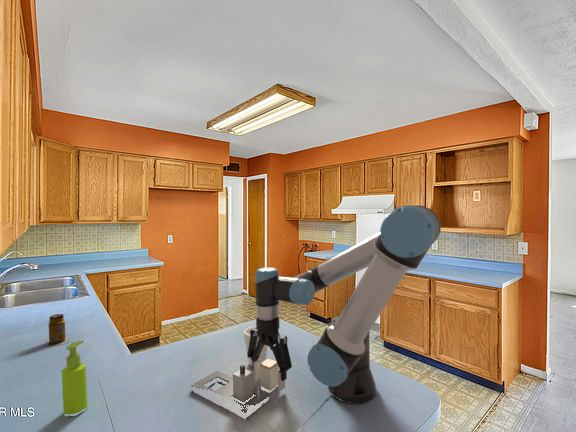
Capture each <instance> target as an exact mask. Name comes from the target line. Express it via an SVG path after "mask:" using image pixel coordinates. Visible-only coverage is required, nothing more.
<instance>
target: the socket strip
mask: <svg viewBox="0 0 576 432" xmlns="http://www.w3.org/2000/svg"><path fill="white" fill-rule="evenodd" d="M217 377H218V378H220V379H222V380H224V381H226V382H228V383H227V384H226V385H224V386H223V387H221V388H219V389H218V390H216V391H215V390H213V389H211V388H209V387H206V386H204V384H206V383H208V382H210V381H212V380H213V379H215V378H217ZM195 384H196V385H195ZM197 385H198V386H197ZM191 386H192V387H193V386H194V387H196V388H198V389H200V388H201V389H202V390H203V389H206V390H207V391H208V390H210V391H211V392H212V391H213V392H214V393H215V394H217V393H218V395H221V396H228V397H231V396H233V376H230V375H228V374H226V373H224V372H221V371H219V370H216V371H214V372H212V373H210V374H208V375H207V376H205V377H204V378H202V379H200V380H198V381H196V382H195V383H193V384H191V385H190V387H191ZM253 394H254V395H256V396H254V397H253V398H252V399H250V400H249V401H248V402H246V403H245V404H244V405H245V407H244V405H243V404H241V403H239V402H238V404H240V406H241V405H242V406H243V408H244V409H242V410H241V411H242V412H243V411H244V413H246V412H247V410H248V409H247V408H246V405H249V406H250V405H254V406H255V405H256V404H258V403H260V402H261V401H263V400H264V399H266V398H267V397H269V396H270V397H271V394H270V393H268V392H266V391H263V390H261V389H260V387H256V386H254V385H253ZM228 400H229V398H228ZM230 400H232V399H231V398H230ZM234 401H235V400H234ZM236 403H237V401H236ZM247 407H248V406H247ZM241 408H242V407H241ZM245 408H246V409H247V410H246V409H245Z"/></svg>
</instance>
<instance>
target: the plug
mask: <svg viewBox="0 0 576 432" xmlns="http://www.w3.org/2000/svg"><path fill="white" fill-rule="evenodd" d="M278 370H279V366H278V364H277V361H276V360H273V359H271V358H266V360H265V361H263V362H262V363H260V379H259V384H260V385H259V387H260V386H262V387H264V388H266V389H268V390H272V389H273V388H275V387H276V386H277V385H278Z"/></svg>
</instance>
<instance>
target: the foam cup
mask: <svg viewBox="0 0 576 432" xmlns="http://www.w3.org/2000/svg"><path fill="white" fill-rule="evenodd" d="M254 328H256V325H255V326H249V327H247V328H246V329H244V331H243V340H244V342H245V343H244V344H245V348H246V349H245V351H246V355H247V354H248V348H249V342H250V330H252V329H254ZM258 340H259V337H258V338H257V342H258ZM256 346H257V344H256ZM268 347H269V346H267V345H264V347H263V349H262V351H261V353H260V355H259V358H258V359H261V363H262V362H263V361H265V360H266V359H267V357H268V356H267V355H268ZM247 361H248V365H249V364H250V365H252V360H251V358H250V357H249V358H248V357H247ZM250 365H249V366H250Z"/></svg>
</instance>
